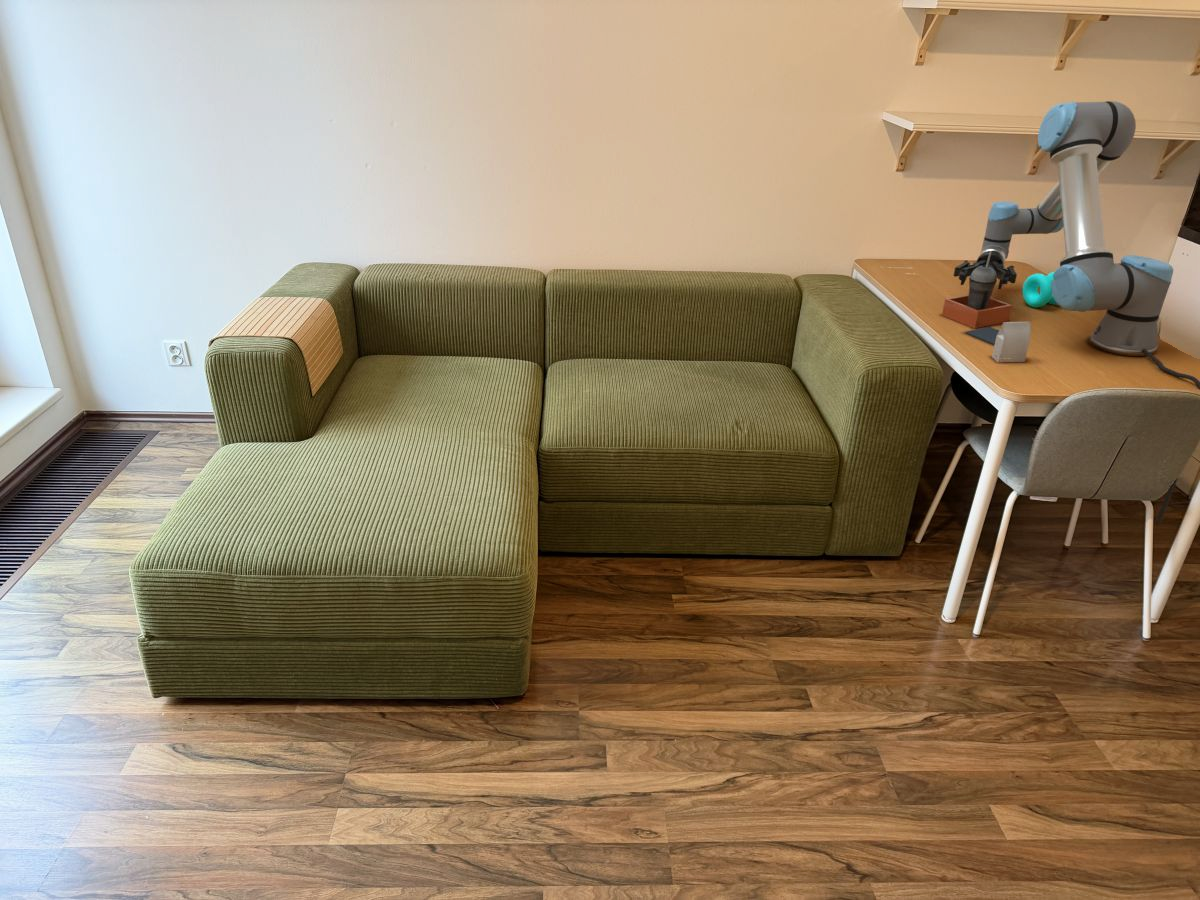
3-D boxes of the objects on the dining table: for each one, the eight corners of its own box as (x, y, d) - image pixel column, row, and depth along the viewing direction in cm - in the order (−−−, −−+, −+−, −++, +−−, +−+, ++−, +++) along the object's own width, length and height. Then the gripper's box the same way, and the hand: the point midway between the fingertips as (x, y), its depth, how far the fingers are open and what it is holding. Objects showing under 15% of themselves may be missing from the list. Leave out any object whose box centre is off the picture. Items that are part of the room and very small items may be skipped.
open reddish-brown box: (1008, 321, 229) (1012, 305, 227) (974, 328, 225) (978, 311, 223) (974, 309, 240) (977, 293, 237) (941, 315, 235) (945, 298, 233)
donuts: (1069, 308, 238) (1077, 275, 234) (1041, 312, 236) (1049, 279, 231) (1043, 298, 247) (1052, 266, 242) (1016, 302, 244) (1024, 270, 240)
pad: (1018, 339, 217) (1019, 338, 217) (993, 345, 214) (994, 343, 214) (989, 328, 225) (990, 326, 225) (965, 333, 222) (965, 331, 222)
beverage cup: (983, 314, 235) (998, 246, 226) (991, 323, 229) (1007, 253, 219) (957, 314, 236) (971, 246, 226) (965, 322, 230) (980, 253, 220)
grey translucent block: (1024, 361, 204) (1034, 324, 199) (998, 362, 203) (1007, 325, 199) (1017, 356, 207) (1026, 319, 202) (991, 356, 207) (1000, 320, 202)
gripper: (1027, 279, 237) (1021, 300, 220) (949, 270, 247) (937, 290, 230) (1033, 254, 234) (1027, 274, 217) (954, 246, 243) (942, 264, 226)
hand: (981, 282), depth 223 cm, fingers open, 9 cm apart
